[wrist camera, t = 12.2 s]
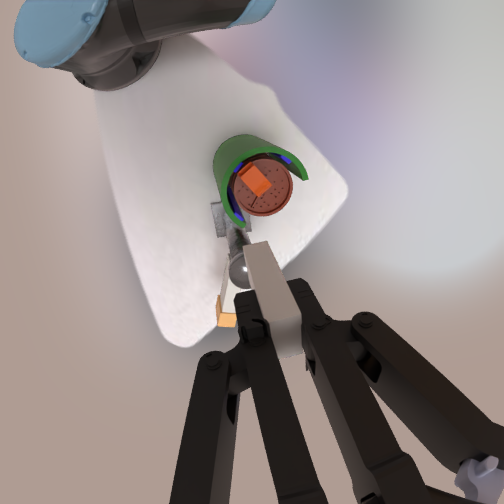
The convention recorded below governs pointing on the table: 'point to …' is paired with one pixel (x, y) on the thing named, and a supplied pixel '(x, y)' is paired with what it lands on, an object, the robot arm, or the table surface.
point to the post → (234, 243)
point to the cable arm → (226, 300)
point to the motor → (254, 176)
